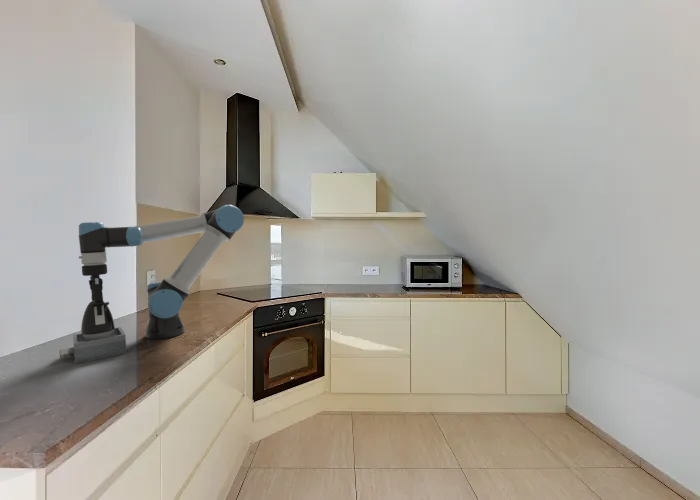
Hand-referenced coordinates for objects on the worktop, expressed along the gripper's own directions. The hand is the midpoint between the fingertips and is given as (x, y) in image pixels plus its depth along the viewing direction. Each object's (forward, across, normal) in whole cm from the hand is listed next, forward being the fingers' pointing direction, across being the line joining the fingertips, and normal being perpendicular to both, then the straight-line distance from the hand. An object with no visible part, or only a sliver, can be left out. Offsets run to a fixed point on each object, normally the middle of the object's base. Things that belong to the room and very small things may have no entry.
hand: (99, 320), depth 129 cm
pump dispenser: (+7, 0, 0) cm, 7 cm away
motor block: (+12, 0, -2) cm, 12 cm away
